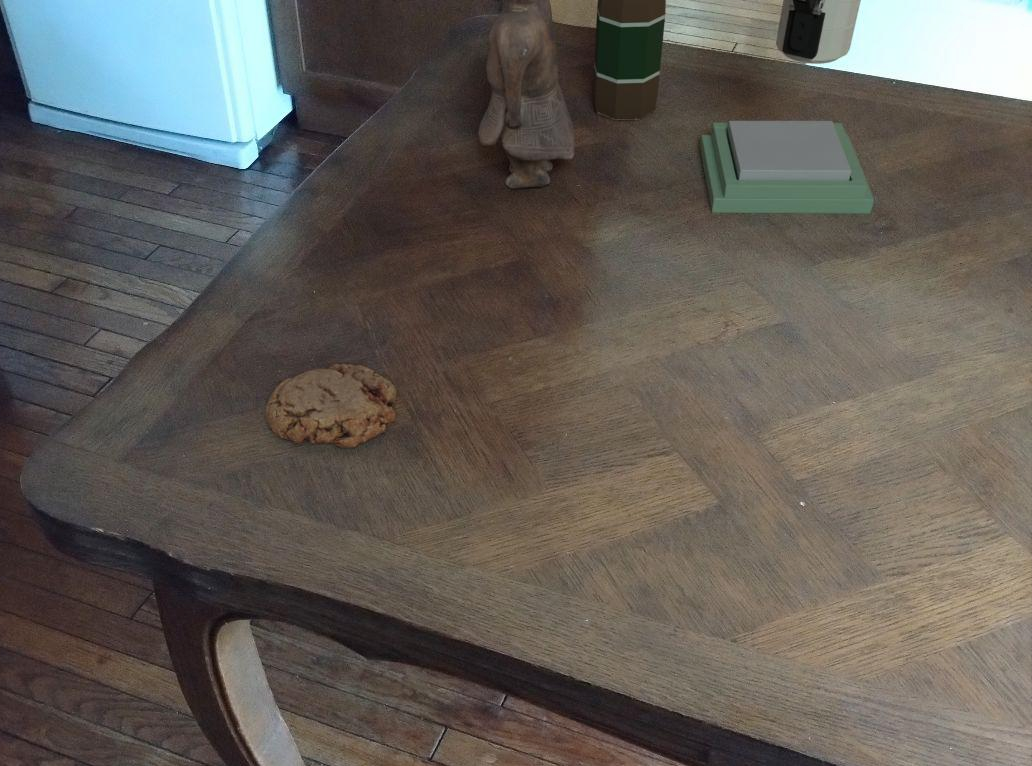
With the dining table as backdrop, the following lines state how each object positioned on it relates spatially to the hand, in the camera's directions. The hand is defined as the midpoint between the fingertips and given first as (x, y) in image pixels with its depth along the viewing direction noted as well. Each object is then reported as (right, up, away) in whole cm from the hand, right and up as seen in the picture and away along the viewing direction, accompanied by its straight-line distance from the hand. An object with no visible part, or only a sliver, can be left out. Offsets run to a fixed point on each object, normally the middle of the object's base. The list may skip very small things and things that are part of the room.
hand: (814, 39), depth 101 cm
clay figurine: (-27, -9, +13) cm, 31 cm away
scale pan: (0, -8, +10) cm, 13 cm away
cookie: (-44, -38, -14) cm, 59 cm away
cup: (0, -1, +1) cm, 1 cm away
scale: (0, -9, +12) cm, 15 cm away
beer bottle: (-15, +3, +24) cm, 29 cm away
